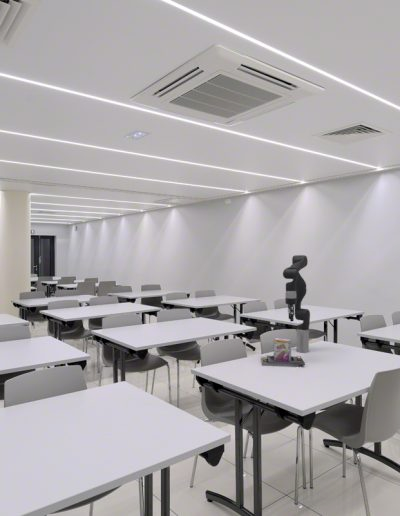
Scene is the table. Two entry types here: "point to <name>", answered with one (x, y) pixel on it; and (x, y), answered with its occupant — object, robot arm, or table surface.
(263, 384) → the table surface
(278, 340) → the candy bar box
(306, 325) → the robot arm
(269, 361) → the grey tray
